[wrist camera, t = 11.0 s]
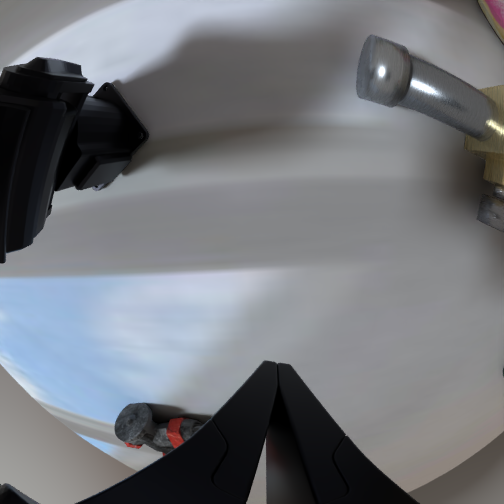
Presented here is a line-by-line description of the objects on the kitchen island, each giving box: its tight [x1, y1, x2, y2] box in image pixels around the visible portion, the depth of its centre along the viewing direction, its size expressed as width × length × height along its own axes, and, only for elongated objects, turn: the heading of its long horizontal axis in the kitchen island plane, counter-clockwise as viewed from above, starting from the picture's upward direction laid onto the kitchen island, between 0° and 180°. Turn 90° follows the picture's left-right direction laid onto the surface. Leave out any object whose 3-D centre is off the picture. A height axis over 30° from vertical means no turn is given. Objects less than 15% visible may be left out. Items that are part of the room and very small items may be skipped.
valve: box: [115, 403, 203, 456], centre depth 28 cm, size 6×26×15 cm
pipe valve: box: [356, 35, 504, 200], centre depth 12 cm, size 18×8×5 cm, turn 82°
